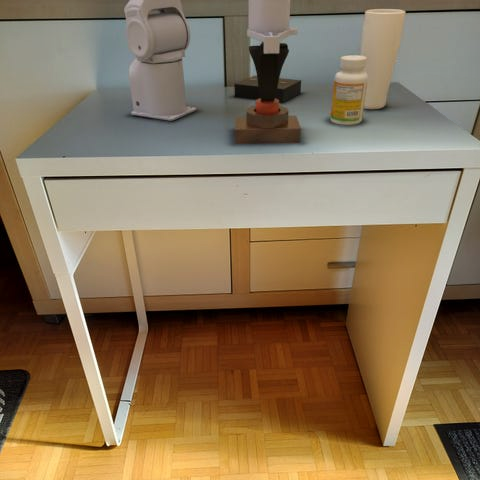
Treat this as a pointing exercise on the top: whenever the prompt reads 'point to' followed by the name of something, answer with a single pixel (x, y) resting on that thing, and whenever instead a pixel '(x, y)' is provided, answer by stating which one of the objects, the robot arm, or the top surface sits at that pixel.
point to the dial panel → (284, 90)
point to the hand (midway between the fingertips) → (267, 99)
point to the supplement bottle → (349, 91)
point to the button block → (267, 127)
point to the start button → (267, 106)
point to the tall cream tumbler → (380, 52)
